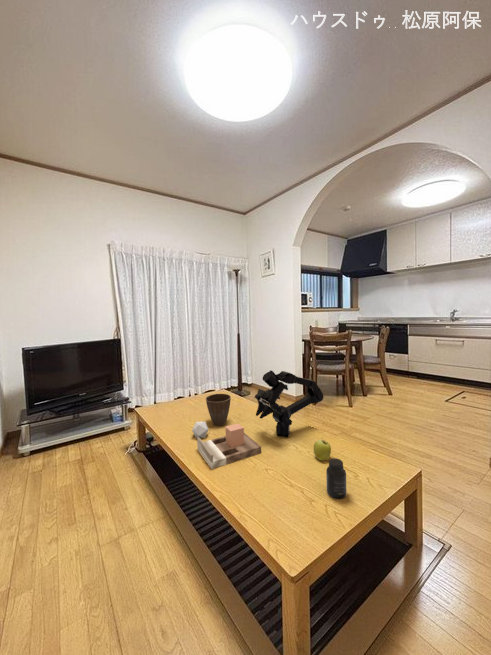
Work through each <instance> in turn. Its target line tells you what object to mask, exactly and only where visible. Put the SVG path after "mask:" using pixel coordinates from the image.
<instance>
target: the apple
mask: <svg viewBox="0 0 491 655" xmlns="http://www.w3.org/2000/svg"><path fill="white" fill-rule="evenodd" d="M313 453H314V456H315V458H317V460H319V461H328V460H329V458H330V457H331V454H332V447H331V444H330V442H328V441H327V440H326V439H317V440H316V441H315V442H314V445H313Z"/></svg>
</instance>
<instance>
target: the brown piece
mask: <svg viewBox="0 0 491 655" xmlns="http://www.w3.org/2000/svg"><path fill="white" fill-rule="evenodd" d="M196 441H197V450H198V452H199V454H200V455H201V456H202V458H203V459H204V461H205V462H206V463H207V465H208V467H209V468H210V469H211V470H213V469H217V468H220V467H223V466H225V465H228V464H232V463H235V462H237V461H241V460H244V459H246V458H250V457H252V456H255V455H259V454H261V453H262V446H261V445H260V444H258V442H257V441H255V440H253V438H251V437H250V436H249V435H248V434H246V432H244V444H242V445H239V446H236V447H232V448H231V447H230V446H229V445H228V444H227V443H226V435H223V436H220V437H216V438H212V439H209V440H206V441H203V440H202V438H199V437H198V438H196Z"/></svg>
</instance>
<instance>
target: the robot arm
mask: <svg viewBox="0 0 491 655" xmlns="http://www.w3.org/2000/svg"><path fill="white" fill-rule="evenodd" d="M262 381H264V383H265V384H267V385H268V387H269V388H270V389H266V390H264V389H262V388H258V390H257V393H256V394H255V396H254V398H255V399H256V400H257V403H258V406H257V409H256V413H255V417H258V416H259V419H260V420H261V419H263V418H265V417H268V416H269V415H271V414H272V418H273V419H274V421H275V422H276V426H275V434H276V437H283V438H289V437H290V435H291V433H292V432H291V431H290V430H291V428H290V426H292V423H293V420H292V419H291V417H292V416H293V415H294V414H295V413H298V412H299V411H301V410H303V409H304V408H306V407H308V406H310V405H311V404H312V405H313V404H318V403H322V401H323V400H324V394H323V392H322V390H321V388H320V387H319V386H318V385H317V382H316V381H315V380H314V379H313V380H312V379H308V378H304V377H300V376H296V375H295V374H293V373H291V372H288V371H286V370H285V371H284V370H282V371H280V372H279V373H277V374H276V373H275V372H274V371H273V370H269V371H268V372H266V373H264V374H263V375H262ZM292 384H298V385H302V386H305V387H306V393H305V395H304V396H303V397H302V398H300V399H298V400H296V401H295V402H293V403H291V404H289V405H287V406H284V405H282V404H281V405H279V403H277V402H276V401H277V400H281V397H280V396H281V395H282V393H283V391H284V390H286V391H289V388H288V385H292Z"/></svg>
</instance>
